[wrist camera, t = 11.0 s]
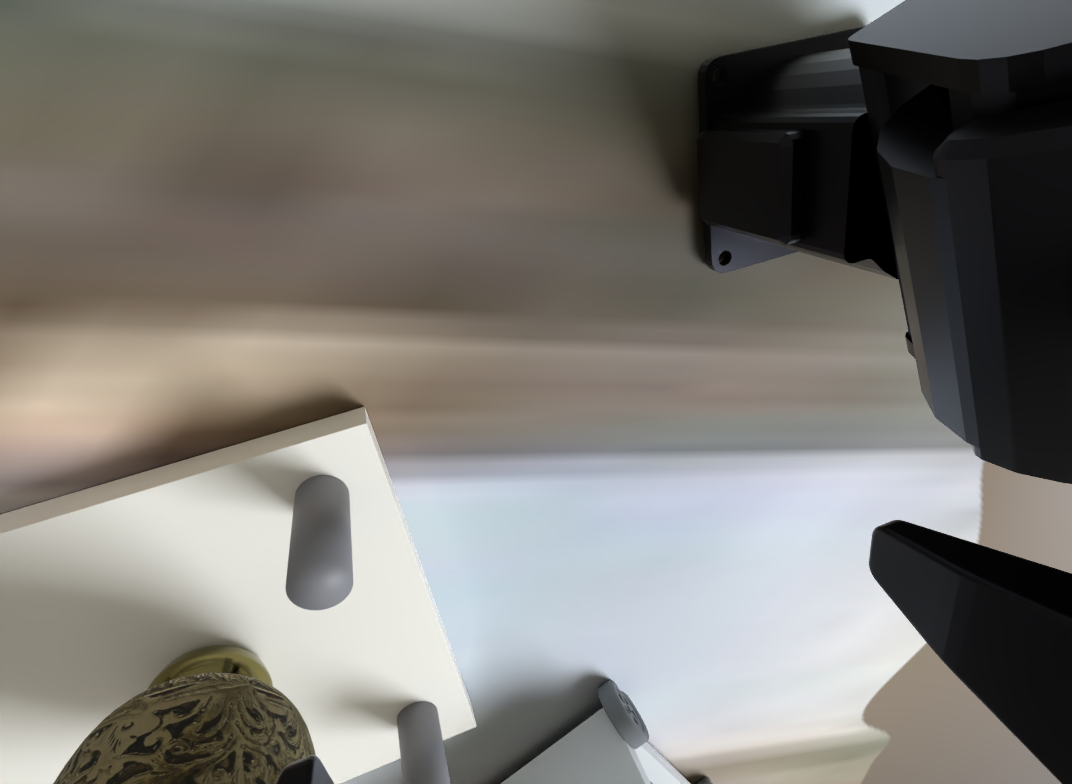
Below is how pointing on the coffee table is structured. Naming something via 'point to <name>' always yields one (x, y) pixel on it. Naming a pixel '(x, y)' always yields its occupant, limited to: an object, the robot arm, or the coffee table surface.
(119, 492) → the peg stand
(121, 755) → the dark brown ornate lampshade
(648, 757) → the toy car
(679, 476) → the coffee table surface
